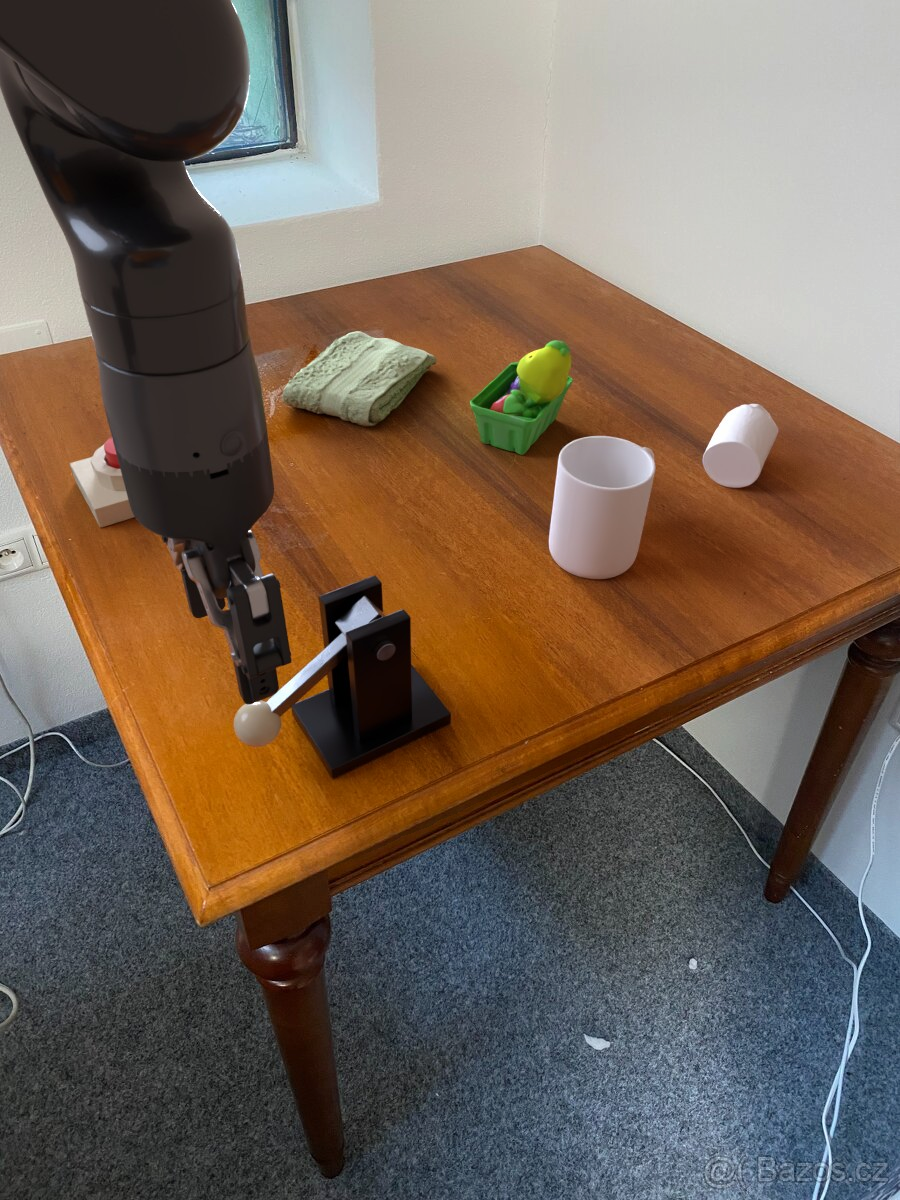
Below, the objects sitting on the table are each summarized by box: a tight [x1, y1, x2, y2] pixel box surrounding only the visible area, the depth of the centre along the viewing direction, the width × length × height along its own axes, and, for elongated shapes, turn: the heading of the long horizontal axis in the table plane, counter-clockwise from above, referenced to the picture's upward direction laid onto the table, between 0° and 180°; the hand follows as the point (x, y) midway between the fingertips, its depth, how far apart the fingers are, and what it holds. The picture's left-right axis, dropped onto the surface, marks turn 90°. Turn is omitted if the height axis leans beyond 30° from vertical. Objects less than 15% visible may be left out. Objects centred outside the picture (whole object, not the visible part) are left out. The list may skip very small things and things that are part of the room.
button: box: [103, 436, 120, 469], centre depth 85 cm, size 4×4×2 cm
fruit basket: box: [469, 339, 574, 456], centre depth 94 cm, size 11×9×11 cm
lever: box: [233, 596, 386, 748], centre depth 60 cm, size 13×3×3 cm
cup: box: [548, 435, 656, 580], centre depth 80 cm, size 8×12×10 cm
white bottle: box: [702, 403, 779, 489], centre depth 92 cm, size 6×12×6 cm, turn 153°
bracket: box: [290, 574, 452, 780], centre depth 63 cm, size 10×7×12 cm
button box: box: [69, 444, 135, 529], centre depth 87 cm, size 10×9×4 cm
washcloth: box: [280, 330, 437, 427], centre depth 103 cm, size 13×18×3 cm
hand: (233, 651), depth 55 cm, fingers open, 8 cm apart
